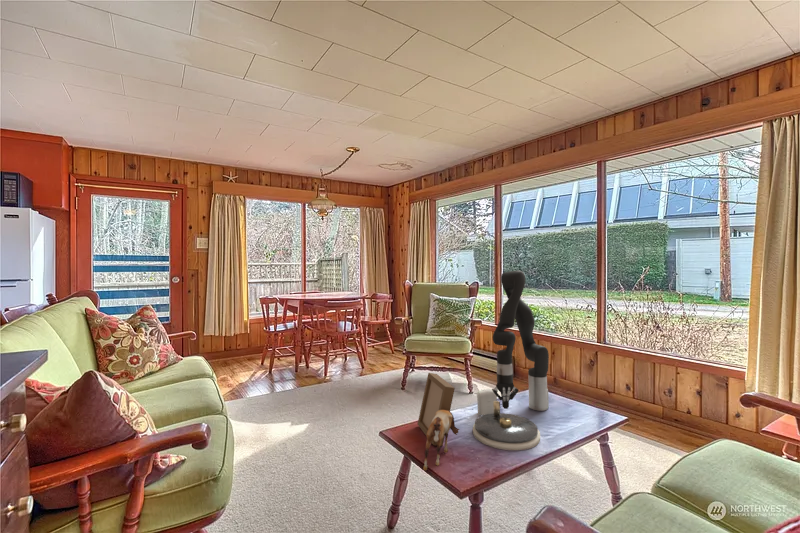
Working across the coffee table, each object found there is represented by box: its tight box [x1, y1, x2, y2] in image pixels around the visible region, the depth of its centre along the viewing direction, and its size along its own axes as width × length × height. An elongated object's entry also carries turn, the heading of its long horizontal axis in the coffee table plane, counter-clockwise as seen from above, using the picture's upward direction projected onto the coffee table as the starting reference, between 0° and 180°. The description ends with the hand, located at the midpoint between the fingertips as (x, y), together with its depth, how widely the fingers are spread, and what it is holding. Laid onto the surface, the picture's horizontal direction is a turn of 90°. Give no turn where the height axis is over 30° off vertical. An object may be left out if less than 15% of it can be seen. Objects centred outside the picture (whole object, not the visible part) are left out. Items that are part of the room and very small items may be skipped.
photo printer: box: [476, 388, 498, 416], centre depth 189 cm, size 10×4×12 cm, turn 104°
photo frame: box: [417, 372, 455, 447], centre depth 167 cm, size 15×22×25 cm
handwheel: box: [474, 400, 539, 443], centre depth 165 cm, size 27×27×8 cm
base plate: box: [472, 422, 541, 451], centre depth 165 cm, size 29×29×2 cm
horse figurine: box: [423, 410, 460, 471], centre depth 146 cm, size 31×8×21 cm, turn 155°
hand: (505, 408), depth 178 cm, fingers closed
